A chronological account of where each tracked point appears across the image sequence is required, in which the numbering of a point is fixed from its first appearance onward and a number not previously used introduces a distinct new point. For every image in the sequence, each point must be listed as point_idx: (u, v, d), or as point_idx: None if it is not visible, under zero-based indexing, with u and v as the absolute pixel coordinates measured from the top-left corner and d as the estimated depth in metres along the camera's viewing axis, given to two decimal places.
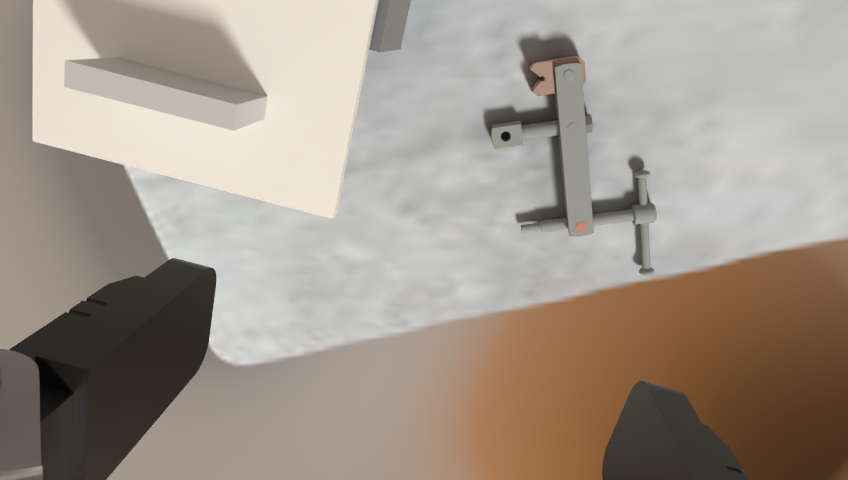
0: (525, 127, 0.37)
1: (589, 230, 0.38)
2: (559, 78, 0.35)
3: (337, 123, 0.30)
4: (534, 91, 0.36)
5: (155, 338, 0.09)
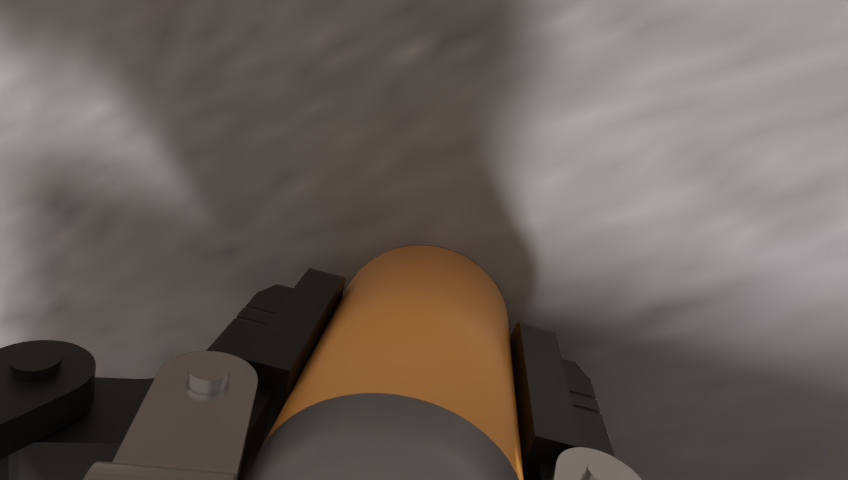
0: None
1: None
2: None
3: None
4: None
5: (314, 342, 0.10)
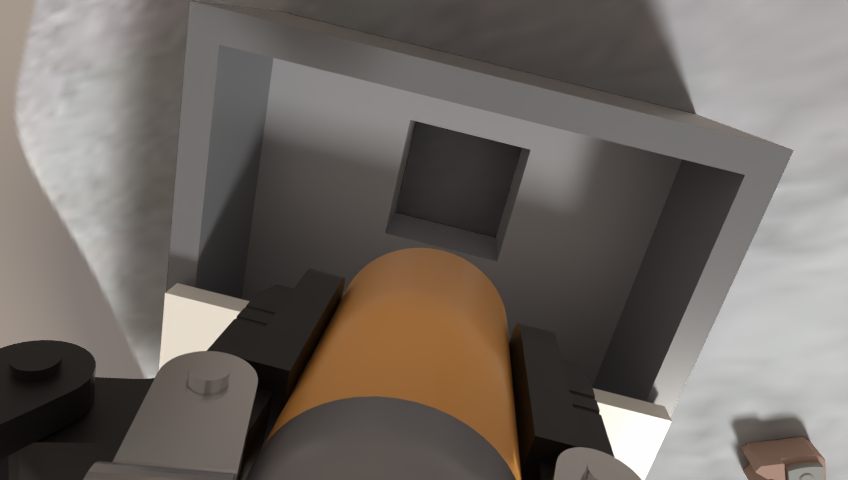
0: None
1: None
2: None
3: None
4: None
5: (314, 342, 0.10)
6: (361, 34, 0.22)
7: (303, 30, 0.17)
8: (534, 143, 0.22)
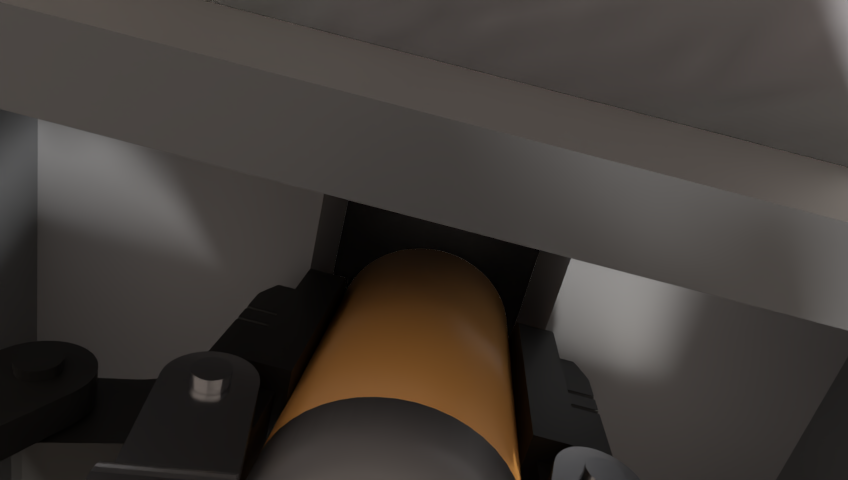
0: None
1: None
2: None
3: None
4: None
5: (316, 342, 0.10)
6: (220, 13, 0.10)
7: None
8: None
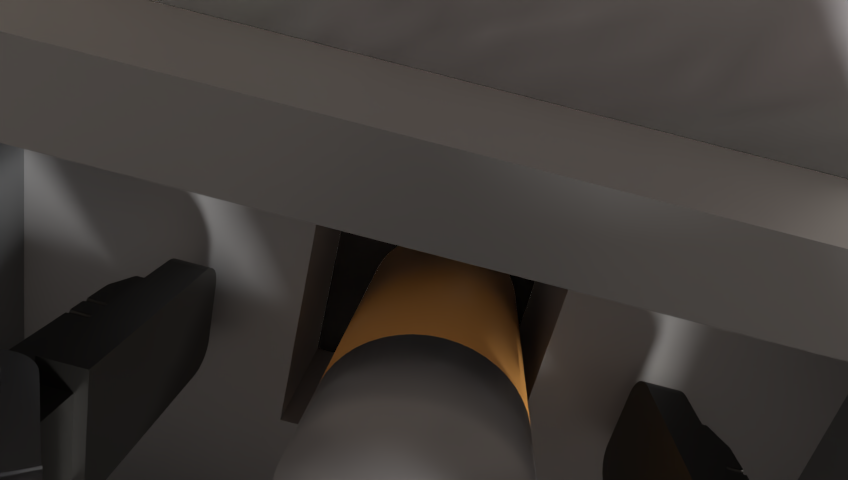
0: None
1: None
2: None
3: None
4: None
5: (155, 338, 0.09)
6: (211, 27, 0.10)
7: None
8: None
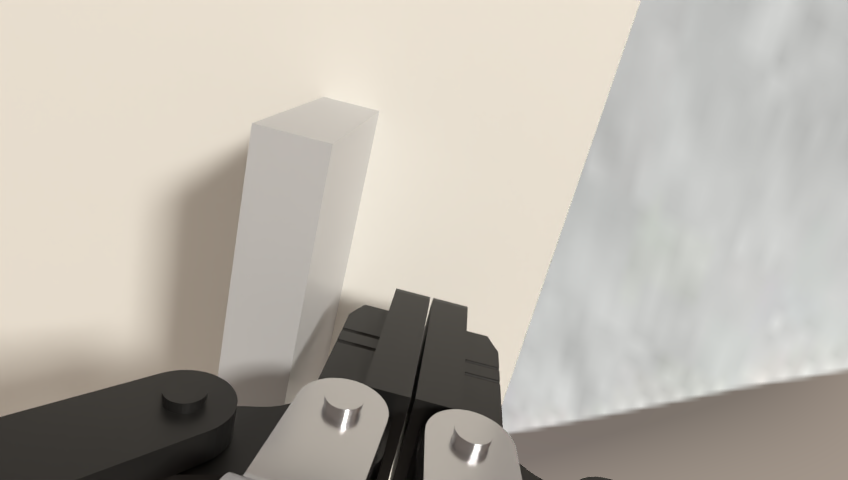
0: None
1: None
2: None
3: None
4: None
5: None
6: None
7: None
8: None
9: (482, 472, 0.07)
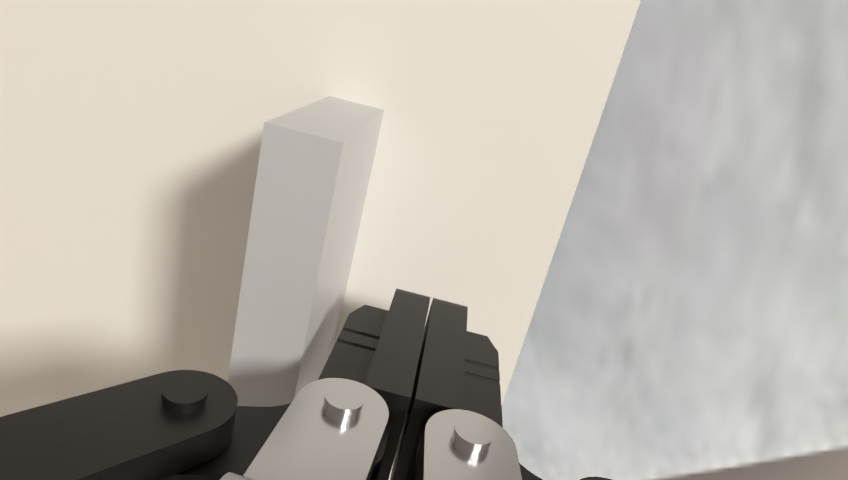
0: None
1: None
2: None
3: None
4: None
5: None
6: None
7: None
8: None
9: (482, 472, 0.07)
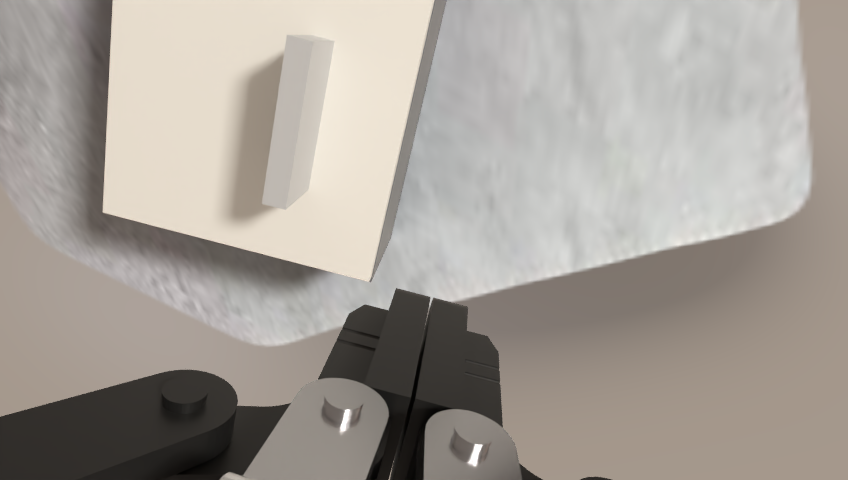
0: None
1: None
2: None
3: None
4: None
5: None
6: None
7: None
8: None
9: (482, 472, 0.07)
